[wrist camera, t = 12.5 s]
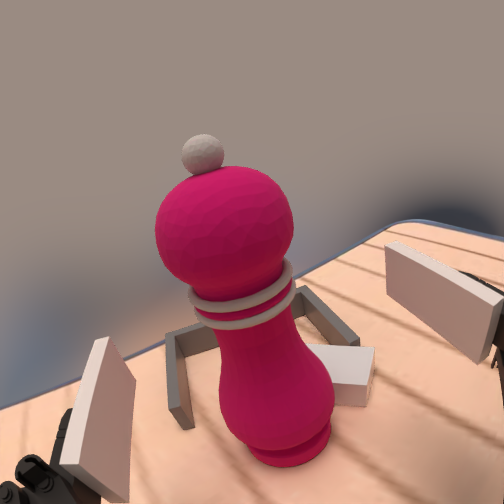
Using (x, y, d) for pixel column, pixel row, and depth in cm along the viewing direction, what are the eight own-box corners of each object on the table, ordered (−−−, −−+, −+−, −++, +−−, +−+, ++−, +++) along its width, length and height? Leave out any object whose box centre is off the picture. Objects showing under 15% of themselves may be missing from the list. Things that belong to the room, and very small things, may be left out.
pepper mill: (298, 383, 23) (233, 130, 16) (358, 430, 17) (321, 104, 10) (224, 428, 20) (109, 168, 13) (274, 491, 14) (120, 151, 7)
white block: (374, 372, 22) (374, 347, 21) (366, 409, 19) (367, 385, 18) (288, 364, 26) (282, 341, 25) (271, 396, 23) (263, 373, 22)
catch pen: (309, 307, 33) (305, 284, 32) (360, 363, 23) (359, 337, 22) (175, 354, 31) (165, 333, 30) (183, 430, 21) (168, 409, 20)
